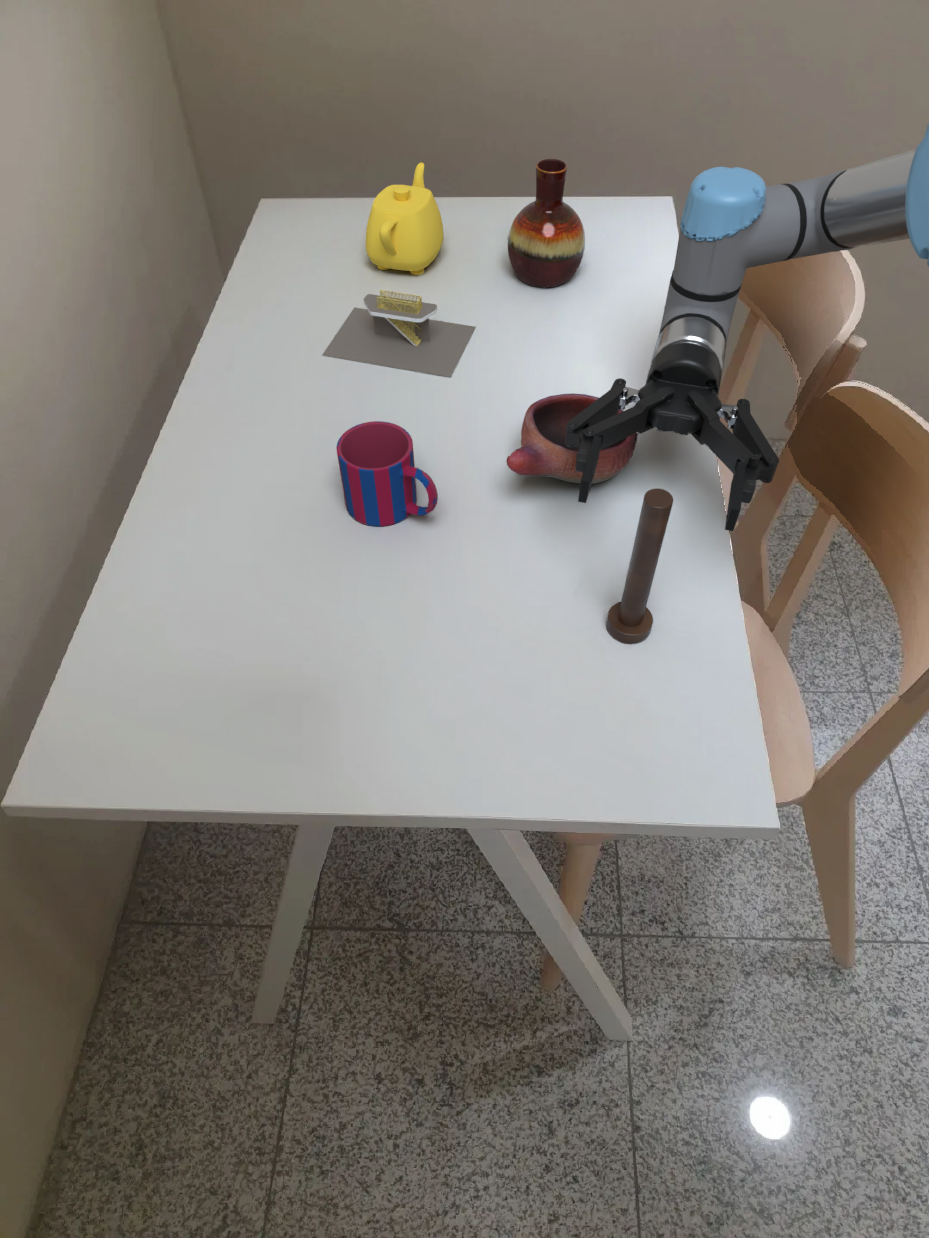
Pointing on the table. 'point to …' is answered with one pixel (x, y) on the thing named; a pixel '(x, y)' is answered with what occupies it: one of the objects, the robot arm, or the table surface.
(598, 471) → the bowl
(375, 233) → the teapot
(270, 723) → the table surface
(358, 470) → the mug
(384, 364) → the platform
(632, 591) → the muddler
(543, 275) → the vase
